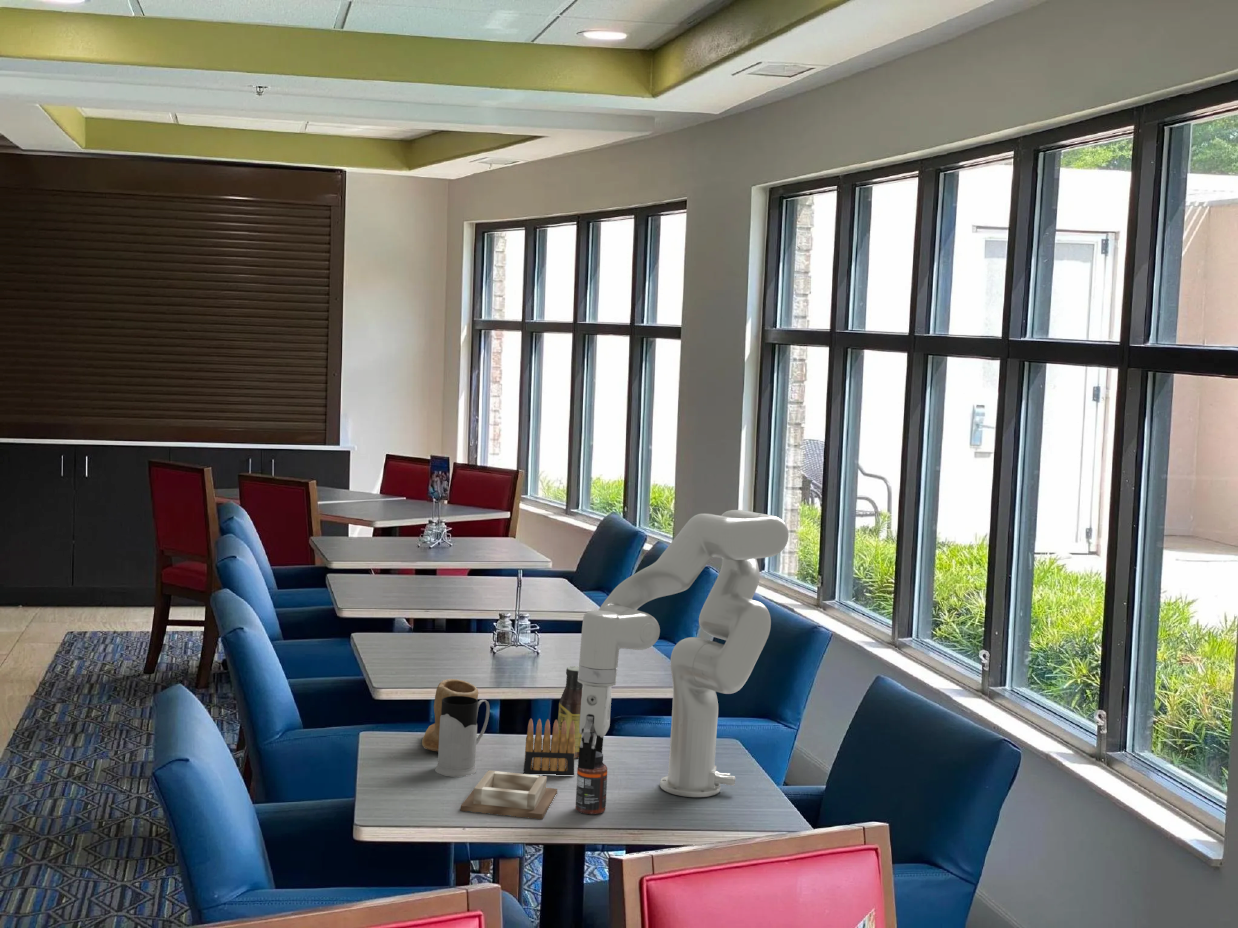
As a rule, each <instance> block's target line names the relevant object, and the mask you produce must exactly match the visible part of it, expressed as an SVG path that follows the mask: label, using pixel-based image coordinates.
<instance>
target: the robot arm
mask: <svg viewBox="0 0 1238 928" xmlns="http://www.w3.org/2000/svg"><path fill="white" fill-rule="evenodd" d="M789 534H790V533H789V529H788V527H787V524H786V523H785V521H783V520H782V518H780V517H778V516H776V515H771V514H765V513H760V512H754V511H749V510H743V509H731V510H727V511H725V512H723V513H722V514H721V515H718V514H713V513H698V514H695V515H693V516H692V517H691V518H689V520H687V522H686V523H685V524H684V526H683V527H682V528H681V529H680V531H679V532H678V534H677V535H676V536H675V537H674V538H673V540H672V541H671V543H670V544H669V545H668V546H667V547H666V549H665V550H664V551H663V552H662V553H661V554H660V556H659V558H658V559H657V560H656V561H654V562H653V563H652V564H650V565H649V566H646V567H644V568H642V569H640V570H639V571H637V572H636V573H634V574H632V575H630V576H629V577H627V578H626V579H624V580H622V581H621V582H620V583H619V584H618V585H617V586H616V587H615V588H613V590H612V591H611V592H610V593H609V595H608V596H607V598H606V599H605V600H604V601H603V603H602V604H601V605H600V607H599V609H597V610H590V611H587V612H586V613H584V615H583V619H582V626H581V637H580V646H579V647H580V649H579V650H580V651H579V659H578V667H579V671H578V682H579V683H582V684H583V688H582V699H581V710H580V724H579V733H580V734H581V735H582V737H581V743H580V747H579V758H578V760H577V768H583V769H591V770H593V769H594V768H595V758H596V752H600V753H602V754H603V746H604V737H605V736H606V734H607V733H608V731H609V729H610V726H611V725H610V724H611V709H612V708H611V706H612V704H611V703H612V687H613V686H616V685H617V680H618V679H617V676H618V667H619V664H618V663H619V653H620V650H621V649H626V650H634V651H643V650H646V649H649V648H651V647H652V646H654V645H655V644H656V642H658V639H659V637H660V633H661V629H660V628H661V627H660V625H659V622H658V620H657V619H656V618H655V617H654V616H652V615H651V614H649V613H648V612H645V611H642V610H638V609H639V608H640V607H642V606H643V605H645V604H646V603H648V602H651V601H653V600H655V599H659V598H662V597H666V596H672V595H675V594H678V593H682V592H684V591H687V590H688V589H689V588H690V587H691V586H692V585H693V583H694V582H695V580H697V578H698V577H699V575H700V574H701V572H702V571H703V570H704V569H705V567H707V565H708V564H709V563H710V561H711V560H712V559H713V558H719V559H721V568H720V571H719V573H718V576H717V578H716V580H715V582H714V584H713V586H712V588H711V590H710V592H709V593H708V596H707V598H706V599H705V601H704V603H703V606H702V608H701V610H700V613H699V617H698V625H699V627H700V629H701V630H702V631H703V632H704V633H706V634H707V635H709V636H711V637H713V638H717V639H721V640H724V641H725V643H724V644H723V643H719V642H717V641H714V640H710V639H705V638H702V637H696V636H695V637H694V636H693V637H692V636H690V637H686V638H684V639H680V640H679V641H678V642H677V643H676V644H675V646H674V647H673V649H672V651H671V655H670V660H669V661H670V663H669V665H670V672H671V679H672V708H671V709H672V710H671V722H670V723H671V724H670V740H669V754H668V755H669V758H668V771H667V775H665V776H664V777H661V779H660V781H659V787H660V788H661V789H662V790H663V791H665V792H666V793H668V794H672V795H675V796H680V797H686V798H687V797H688V798H706V797H707V798H708V797H711V796H716V795H718V794H719V793H720V791H721V785H726V786H735V784H736V776H735V775H731V773H728V772H727V773H726V772H724V773H723V772H720V771H717V764H716V765H715V763H716V762H715V761H716V747H717V746H716V745H717V736H718V735H717V731H718V719H719V718H718V717H719V703H718V701H719V700H718V696H717V693H720V694H725V695H731V694H734V693H737V692H738V691H741V689H742V688H743V686H744V685H745V684H746V682H747V681H748V679H749V677H750V676H751V674H752V672H753V670H754V668H755V665H756V663H757V661H758V659H759V657H760V655H761V653H762V651H763V649H764V647H765V645H766V643H767V640H768V639H769V636H770V632H771V627H772V626H771V625H772V620H771V619H772V618H771V614H770V612H769V610H768V608H767V606H766V605H765V604H763V603H762V602H761V601H759V600H754V599H753V598H754V595H755V593H756V591H757V589H758V585H759V583H760V577H761V576H760V575H761V573H760V569H759V568H760V567H759V563H758V559H765V558H772V557H775V556H777V555H779V554H780V553H781V552H782V551H784V550H785V547H786V546H787V544H788V541H789V536H790V535H789Z"/></svg>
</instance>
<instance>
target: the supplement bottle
mask: <svg viewBox="0 0 1238 928" xmlns="http://www.w3.org/2000/svg"><path fill="white" fill-rule="evenodd" d="M603 761H604V753H603V752H602V753H600V752H596V758H595V768H594V769H593V770H591V769H583V768H578V767H577V769H576V787H575V788H576V790H575V810H576V812H579V813H580V812H581V813H580V814H586V815H599V814H602V813H604V812H605V810H606V808H607V807H606V805H607V790H608V788H607V787H608V786H607V785H608V767H607V765H606V764H605V763H604V762H603Z"/></svg>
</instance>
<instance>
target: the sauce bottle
mask: <svg viewBox="0 0 1238 928" xmlns="http://www.w3.org/2000/svg"><path fill="white" fill-rule="evenodd" d="M578 671H579V665H578V666H577V665H576V666H573V665H572V666H568V667H566V671H565V673H566V680H565V681H566V683H565V686H564V690H563V692H562V694H561V697H560V699H559V702H558V715H557V722H558V738H559V740H560V735H561V727H562V723H563V721H564V720H565V721H566V727H567V743H568V737H569V729H570V724H571V722H572V720H573V721H574V725H575V756H574V759H577V758H578V757H579V747H580V743H581V737H582V735H581V734H580V733H579V724H580V710H581V699H582V689H583V684H582V683H579V682H578ZM558 751H559V747H558Z"/></svg>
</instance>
